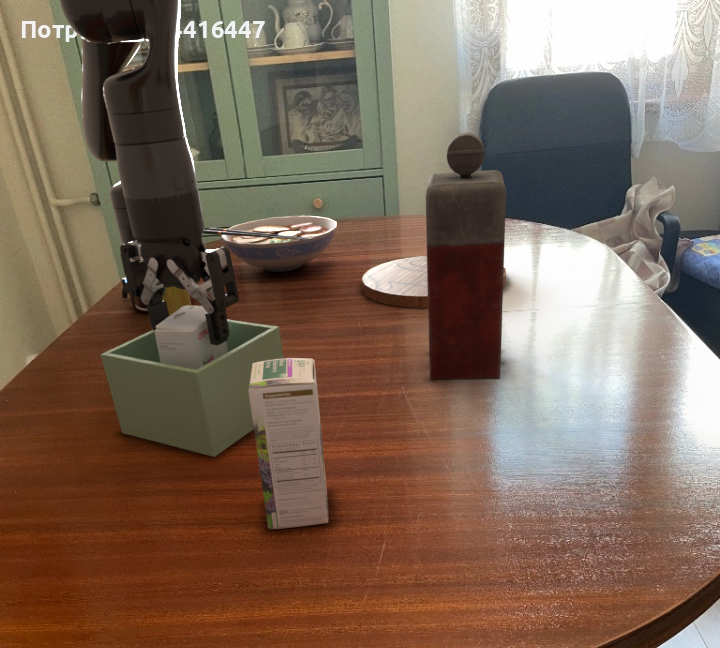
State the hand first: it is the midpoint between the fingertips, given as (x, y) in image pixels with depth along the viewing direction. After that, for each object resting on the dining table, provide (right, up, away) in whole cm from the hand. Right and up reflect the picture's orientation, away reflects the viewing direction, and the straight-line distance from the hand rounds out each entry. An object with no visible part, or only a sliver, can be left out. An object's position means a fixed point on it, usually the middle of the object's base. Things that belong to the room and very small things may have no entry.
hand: (191, 338), depth 83 cm
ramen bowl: (+4, +26, +62) cm, 67 cm away
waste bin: (+1, -9, +5) cm, 10 cm away
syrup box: (+14, -19, -13) cm, 27 cm away
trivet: (+32, +18, +45) cm, 58 cm away
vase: (-8, +4, +28) cm, 30 cm away
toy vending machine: (+33, 0, +14) cm, 36 cm away
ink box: (+1, -8, +5) cm, 9 cm away
